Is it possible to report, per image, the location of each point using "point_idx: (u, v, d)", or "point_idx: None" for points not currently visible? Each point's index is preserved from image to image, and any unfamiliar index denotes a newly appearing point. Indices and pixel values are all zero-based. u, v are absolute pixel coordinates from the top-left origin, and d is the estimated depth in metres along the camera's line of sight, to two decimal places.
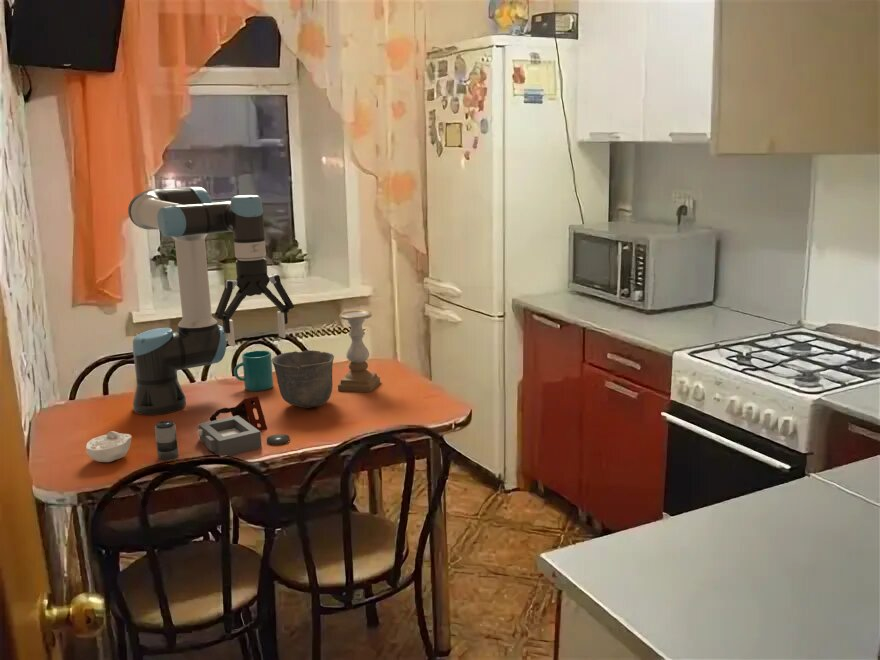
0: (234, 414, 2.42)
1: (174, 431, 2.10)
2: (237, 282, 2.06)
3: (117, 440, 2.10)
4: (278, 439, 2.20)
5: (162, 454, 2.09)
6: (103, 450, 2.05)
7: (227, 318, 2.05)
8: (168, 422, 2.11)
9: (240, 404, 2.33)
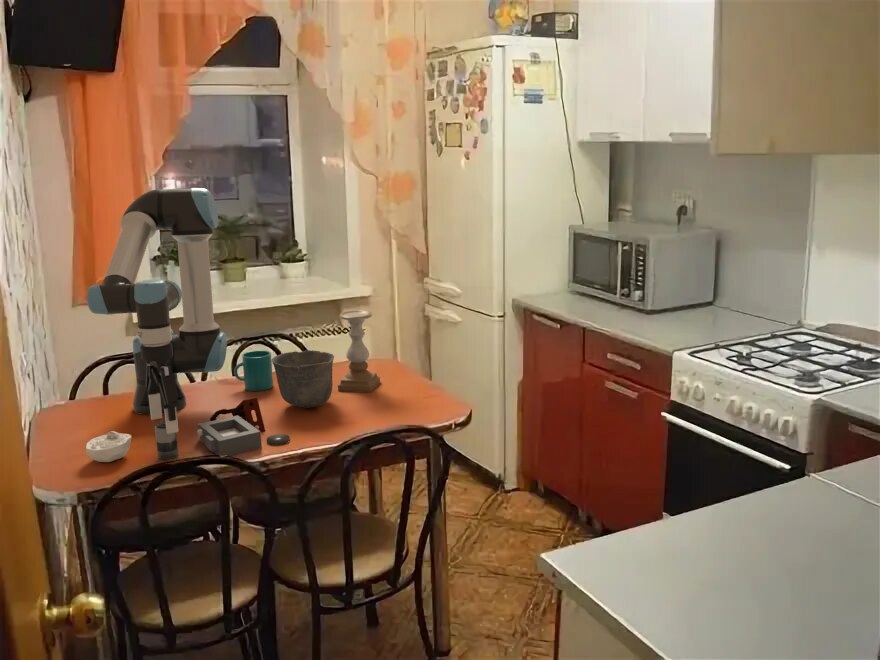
0: (234, 415, 2.40)
1: None
2: None
3: (117, 440, 2.10)
4: (278, 439, 2.20)
5: (162, 454, 2.09)
6: (103, 450, 2.05)
7: (147, 391, 2.14)
8: None
9: (239, 405, 2.32)
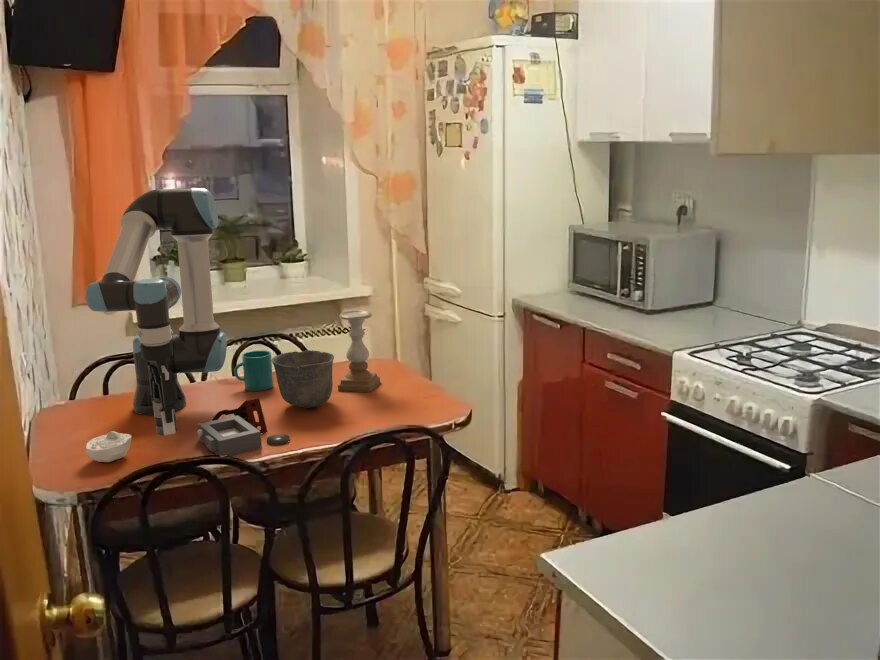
0: None
1: None
2: None
3: (117, 440, 2.10)
4: (278, 439, 2.20)
5: (160, 429, 2.08)
6: (103, 450, 2.05)
7: None
8: None
9: (241, 406, 2.31)
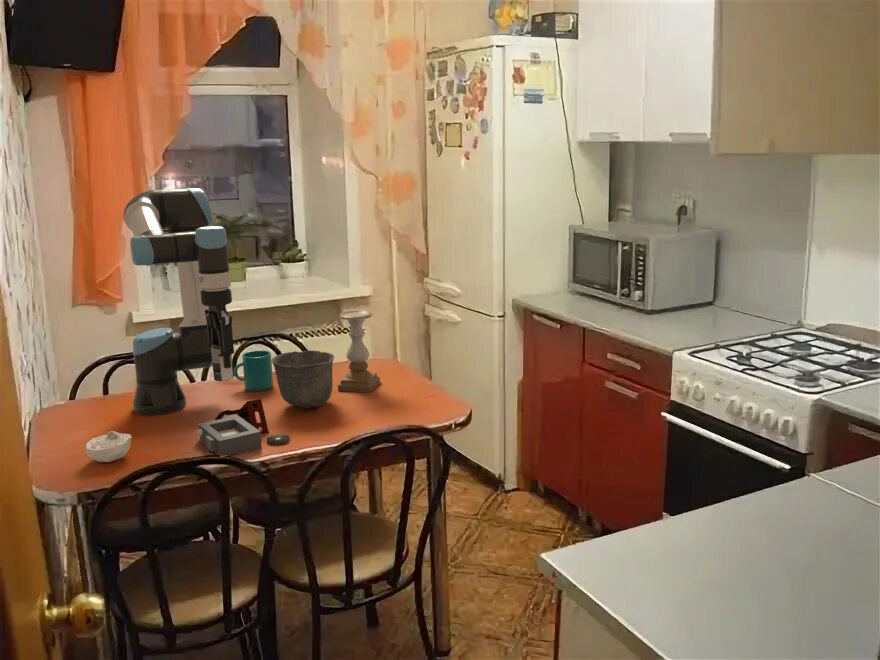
0: (240, 416, 2.40)
1: None
2: None
3: (117, 440, 2.10)
4: (278, 439, 2.20)
5: (218, 375, 2.13)
6: (103, 450, 2.05)
7: None
8: None
9: (243, 407, 2.31)
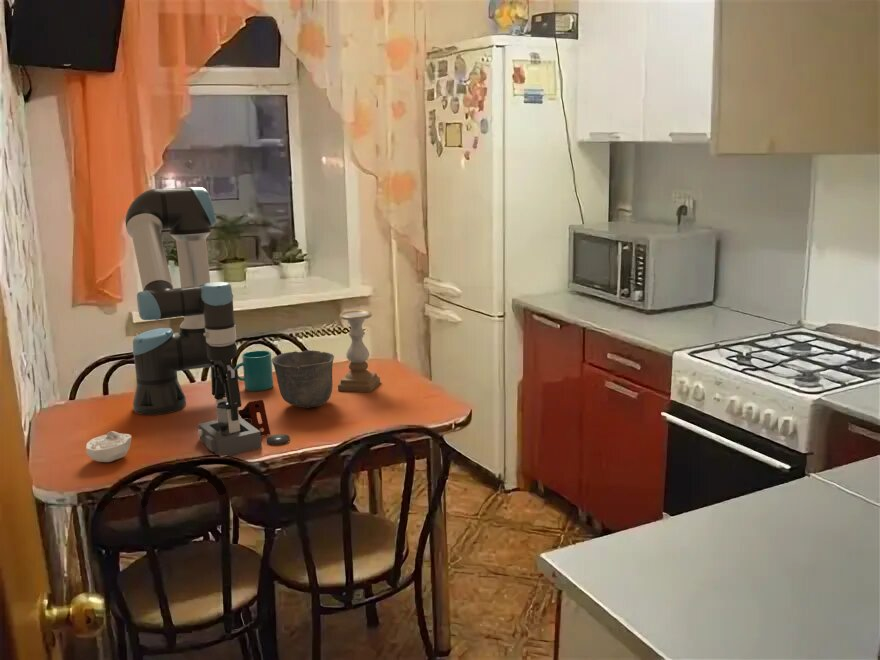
0: (243, 417, 2.39)
1: None
2: None
3: (117, 440, 2.10)
4: (278, 439, 2.20)
5: (224, 433, 2.17)
6: (103, 450, 2.05)
7: (214, 397, 2.21)
8: None
9: (245, 407, 2.30)
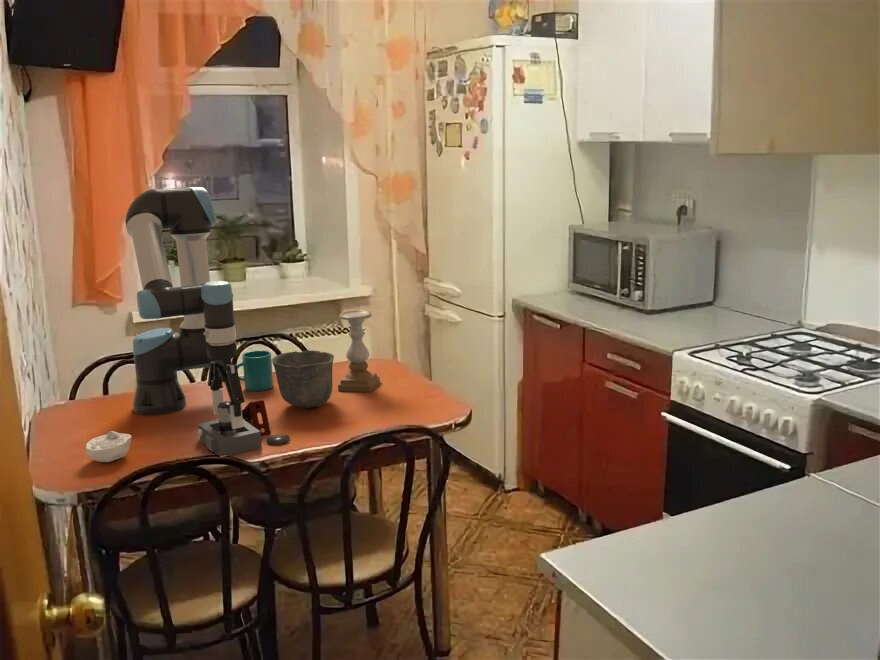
0: (244, 417, 2.39)
1: None
2: None
3: (117, 440, 2.10)
4: (278, 439, 2.20)
5: (224, 433, 2.17)
6: (103, 450, 2.05)
7: None
8: None
9: (246, 407, 2.30)
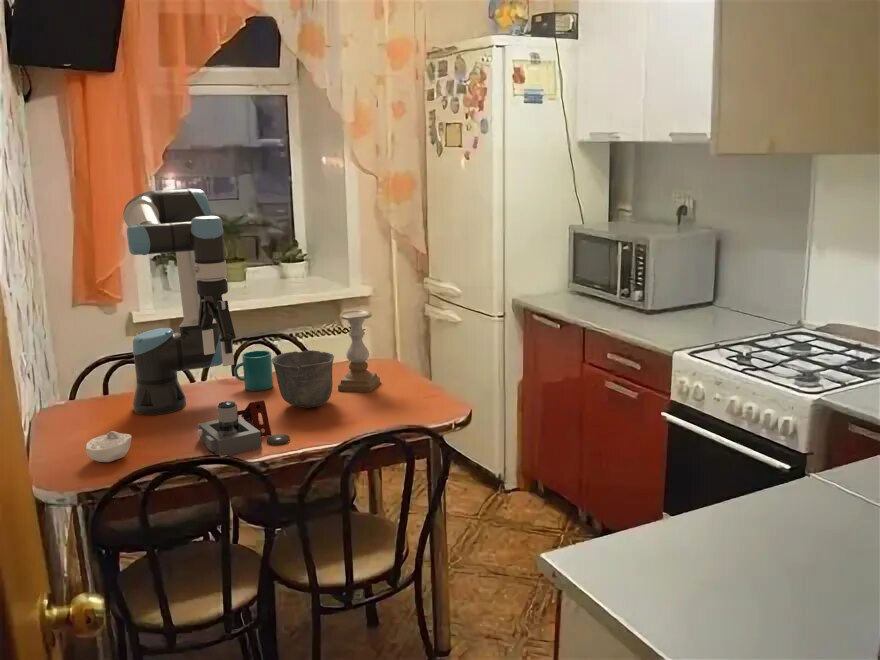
0: (245, 417, 2.39)
1: (236, 411, 2.17)
2: None
3: (117, 440, 2.10)
4: (278, 439, 2.20)
5: (224, 433, 2.17)
6: (103, 450, 2.05)
7: (201, 327, 2.19)
8: (230, 402, 2.18)
9: (247, 408, 2.30)
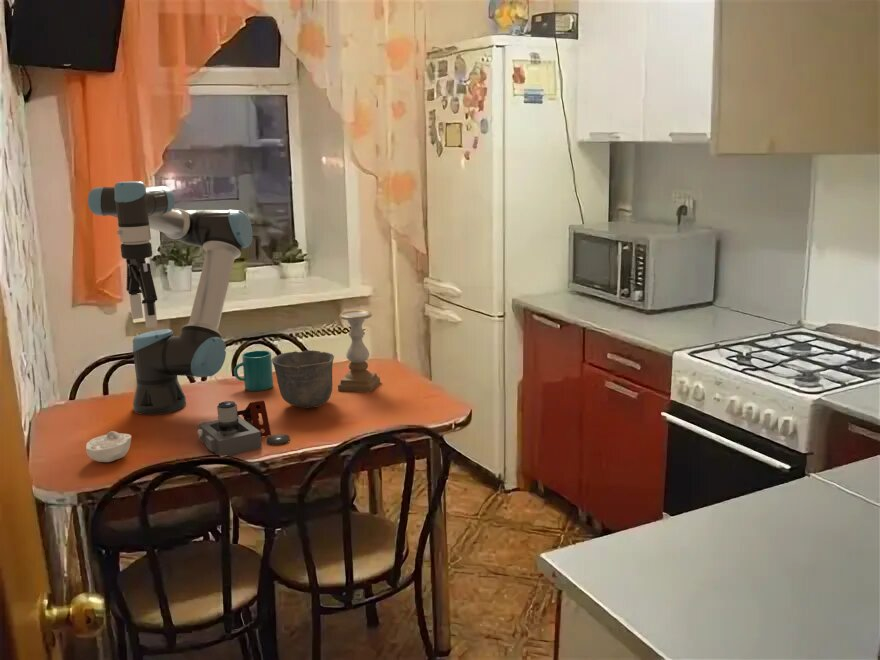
0: (245, 417, 2.39)
1: (236, 411, 2.17)
2: None
3: (117, 440, 2.10)
4: (278, 439, 2.20)
5: (224, 433, 2.17)
6: (103, 450, 2.05)
7: (128, 292, 2.23)
8: (230, 402, 2.18)
9: (247, 408, 2.30)
